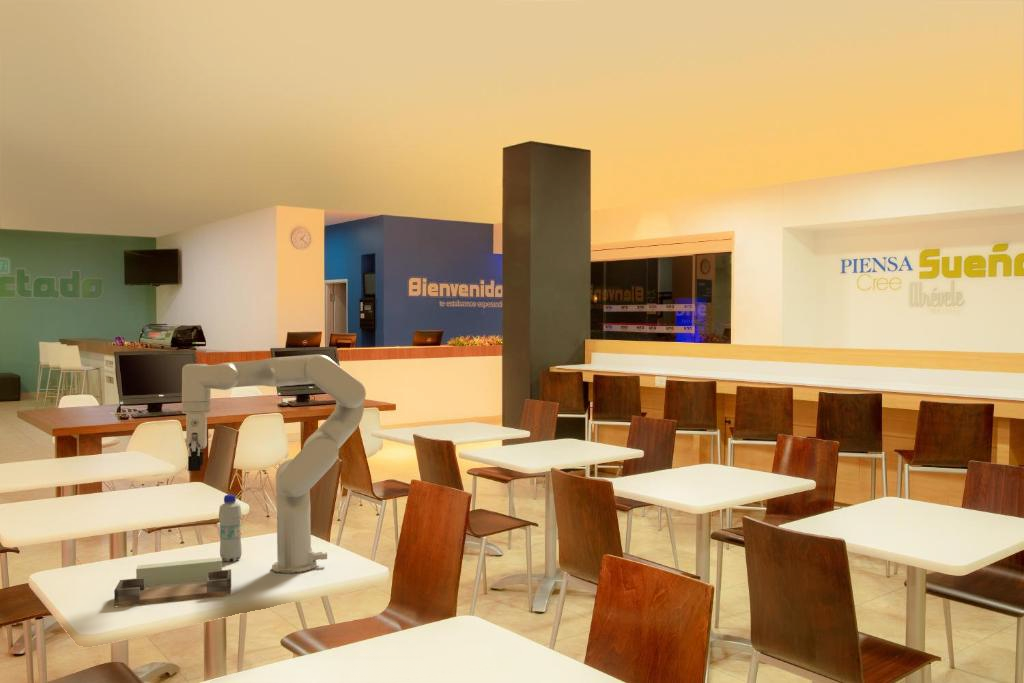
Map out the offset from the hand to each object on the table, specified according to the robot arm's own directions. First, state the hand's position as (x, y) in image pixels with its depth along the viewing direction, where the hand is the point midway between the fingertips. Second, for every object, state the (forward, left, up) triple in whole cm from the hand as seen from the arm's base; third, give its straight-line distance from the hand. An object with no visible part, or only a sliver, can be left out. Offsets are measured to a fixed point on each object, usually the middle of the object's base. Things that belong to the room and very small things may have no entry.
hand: (195, 468), depth 230 cm
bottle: (-9, -16, -31) cm, 36 cm away
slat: (+4, +1, -31) cm, 32 cm away
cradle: (+4, +16, -31) cm, 35 cm away
